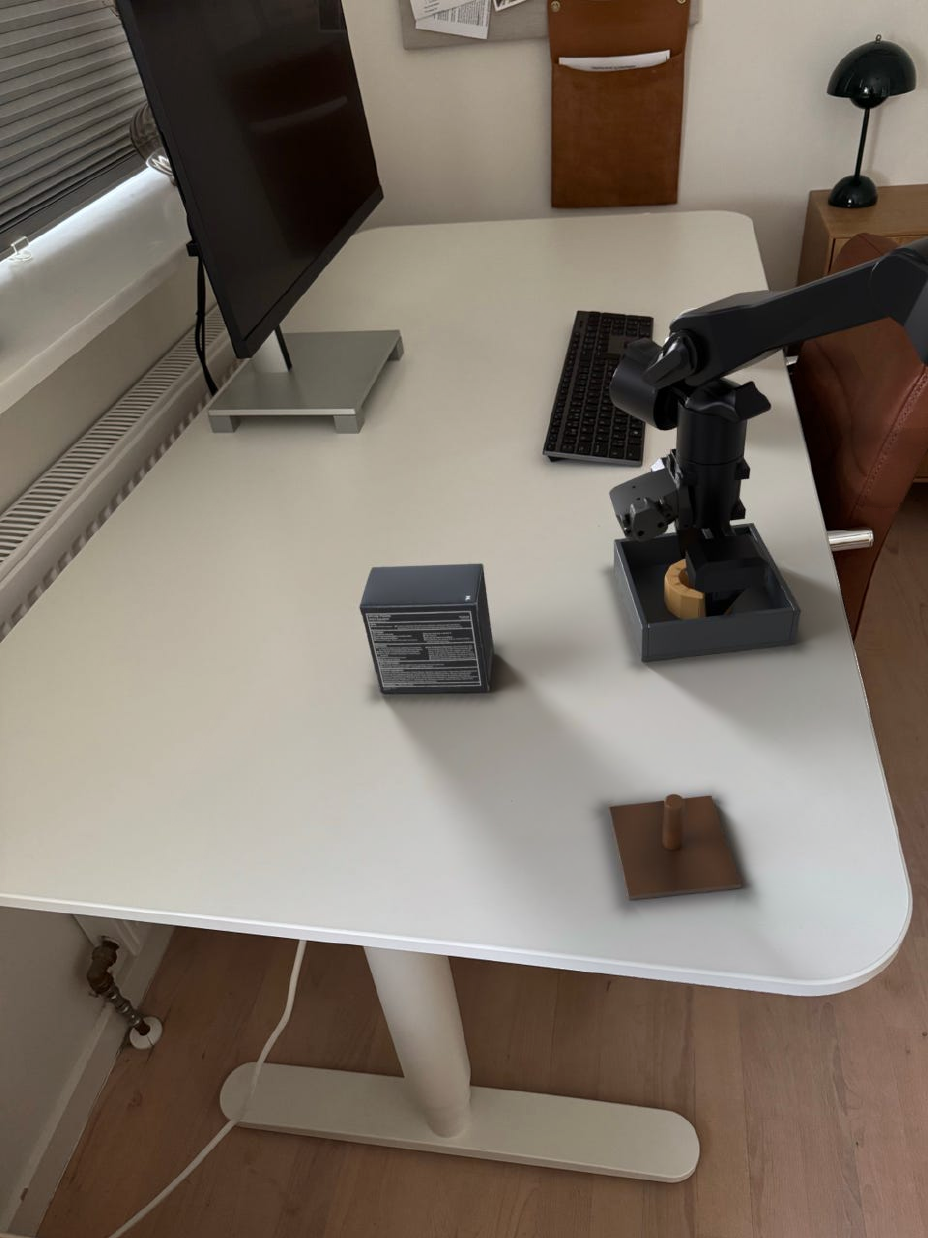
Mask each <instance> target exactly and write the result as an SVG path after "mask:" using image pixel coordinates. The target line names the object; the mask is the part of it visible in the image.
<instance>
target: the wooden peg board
mask: <svg viewBox="0 0 928 1238" xmlns="http://www.w3.org/2000/svg"><path fill="white" fill-rule="evenodd" d="M608 813H609V817H610V822H611V826H612V830H613V836H614V839H615V844H616V850H617V854H618V857H619V863H620V867H621V872H622V877H623V880H624V885H625V890H626V894H627V899H628V901H631V900H632V901H634V900H643V899H652V898H661V897H669V896H679V895H680V896H681V895H690V894H697V893H698V894H699V893H707V892H717V891H718V892H719V891H727V890H736V889H741V886H742V882H741V879H740V877H739V873H738V870H737V868H736V864H735V862H734V859H733V856H732V852H731V849H730V847H729V843H728V841H727V838H726V835H725V832H724V829H723V826H722V823H721V820H720V817H719V814H718V811H717V808H716V805H715V802H714V799H713V796H712V795H702V796H701V795H700V796H694V797H684V798H683V797H682V796H681V795H679V794H678V793H677V794H676V793H670V794H668V795H667V796H666V797H665V798H664V800H658V801H657V800H656V801H649V802H640V803H639V802H637V803H631V804H630V803H629V804H621V805H611V806H609V807H608Z"/></svg>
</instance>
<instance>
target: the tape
mask: <svg viewBox="0 0 928 1238" xmlns="http://www.w3.org/2000/svg"><path fill="white" fill-rule="evenodd" d="M685 568H686V561H685V559H683V560H681V561H679V562H677V563H675V564H673V565H671V566H670V568H669V569H668V571H667V573H666V575H665V590H664V601H665V604H666V607H667V609H668V611H670V612H671V613H672V614H674V615H675V616H677V617H678V618H680V619H683V620H686V619H695V618H703V617H705V612H704V605H703V597H702V593H701V592H698V591H696V590H693V589H694V588H693V587H692V585H691V583H690V580H689V578H688V575H687V573H686V570H685ZM732 606H733V604H732V605H731V606H730V607H729V609H728V610H727V611H726V612H725V613H724V615H727V614H728V613H730V610H731V608H732Z"/></svg>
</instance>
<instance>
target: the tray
mask: <svg viewBox="0 0 928 1238" xmlns="http://www.w3.org/2000/svg"><path fill="white" fill-rule="evenodd" d="M731 526H732V528H733V530H734V532H735V534H736V535H743V534H749V535H750V536H752V537H753V538H754V539H755V540H757V541H758V543H759V545H760V546H761V548H762V550H763V552H764V554H765V556H766V558H767V559H768V561H769V563H770V568H769V575H768V582H767V583H766V584H765V585H764V586H761V587H752V588H747V589H746V590H745V591H743V592H742V593H741V595H740V596H739V597H738V598H737V599H736V600H735V601H734V603H733V606H732V608H731V610H730V613H728V614H727V615H720V616H712V617H703V618H695V619H686V620H683V619H680V618H678V617H677V616H675V615H674V614H672V613H671V612H670V611H668V609H667V607H666V604H665V601H664V590H665V575H666V573H667V571H668V569H669V568H670V566H671V565H673V564H675V563H677V562H679V561H681V560H682V559H681V554H680V550H679V545H678V541H677V536H676V531H673V532H665V533H663V534H661V535H659V536H656V537H654V538H651V539H649V540H647V541H644V542H642V541H638V540H636V541H629V540H627V539H626V537H624V538H623V537H622V538H615V539H613V573H614V576H615V579H616V582H617V586H618V589H619V593H620V595H621V599H622V602H623V606H624V609H625V612H626V616H627V619H628V621H629V625H630V629H631V632H632V635H633V639H634V643H635V645H636V648H637V652H638V655H639V658H640V661H641V663H645V662H653V661H663V660H669V659H678V658H689V657H696V656H705V655H706V656H707V655H713V654H714V655H715V654H722V653H731V652H732V653H733V652H739V651H740V652H741V651H747V650H748V651H749V650H756V649H766V648H775V647H782V646H784V647H785V646H790V645H791V646H792V645H796V642H797V637H798V631H799V630H798V629H799V625H800V619H801V614H802V613H801V612H802V609H801V607H800V606H799V604H798V602H797V600H796V599H795V596H794V594H793V592H792V591H791V589H790V588H789V585H788V583H787V582H786V580H785V578H784V577H783V574H782V573H781V570H780V569H779V567H778V566H777V563H776V562H775V560H774V558H773V556H772V554H771V552H770V551H769V549H768V547H767V546H766V543H765V542H764V540H763V538H762V536H761V534H760V533H759V531H758V528H757V527H756V525H755V523H754V522H749V523H741V524H731ZM705 539H706V538H705ZM693 590H694V589H693Z"/></svg>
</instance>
